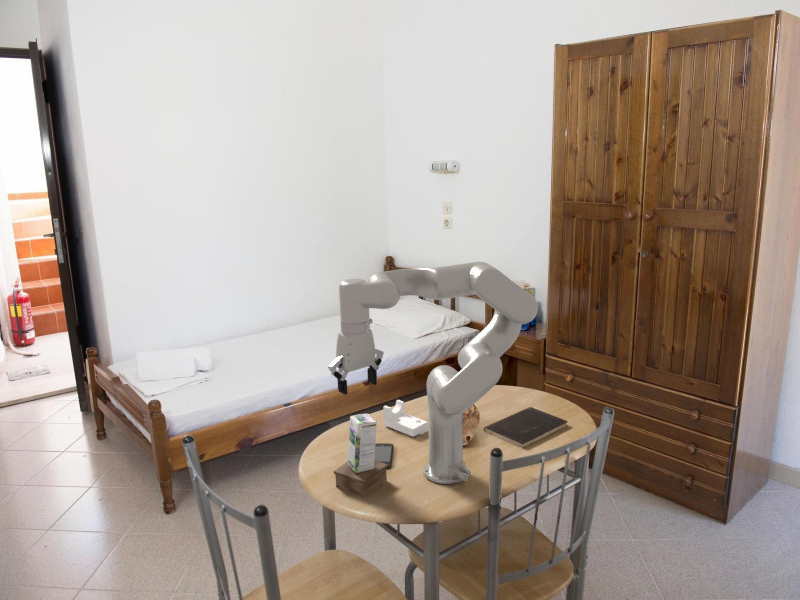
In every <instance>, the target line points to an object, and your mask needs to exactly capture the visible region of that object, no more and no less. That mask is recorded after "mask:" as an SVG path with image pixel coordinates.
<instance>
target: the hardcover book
mask: <svg viewBox="0 0 800 600" xmlns="http://www.w3.org/2000/svg"><path fill="white" fill-rule="evenodd" d="M568 422H569V421H568V420H566V419H562V418H560V417H559V416H555V415H552V414H551V413H547V412H545V411H542V410H540V409H537V408H534V407H532V406H529V407H527V408H524V409H522V410H520V411H518V412H516V413H513V414H511V415H509V416H506V417H504V418H502V419H500V420H497V421H495V422H493V423H491V424H488V425H486V426H484V427H483V432H487V433H488V434H491V435H493V436H495V437H497V438H500V439H501V440H504V441H506V442H508V443H510V444H513V445H515V446H517V447H519V448H521V449H523V448H524V447H527V446H529V445H531V444H532V443H535V442H537V441H539V440H541V439H544V438H545V437H547V436H549V435H551V434H553V433H555V432H557V431H559V430H561V429H564V428H566V426H568V425H567V424H568Z"/></svg>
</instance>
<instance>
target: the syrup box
mask: <svg viewBox="0 0 800 600" xmlns="http://www.w3.org/2000/svg"><path fill="white" fill-rule="evenodd" d="M377 426H378V425H377V421H376V420H375V419H374V417H372V416H371V415H370V414H369V413H359V414H355V415H354V414H353V415H350V416H349V431H348V433H349V434H348V435H349V436H348V450H347V451H348V455H347V456H348V457H347V462H348V464H349V465H350V467H351V468H352V469H353V470H354V472H355V473H359V472H363V471H368V470H372V469H374V460H375V459H376V458H375V457H376V456H375V455H376V440H377V439H376V438H377Z"/></svg>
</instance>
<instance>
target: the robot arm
mask: <svg viewBox="0 0 800 600" xmlns="http://www.w3.org/2000/svg"><path fill="white" fill-rule="evenodd" d="M338 293H339V296H338V297H339V315H340V332H338V334H337V338H336V339H337V341H336V350H335V351H336V352H335V359H334V360H333V361H332V362H331V363H330V364H329V365H328V366H327V368H328V370H329V371H330V375H332V377H334V378H336V379H337V390H338V392H339V393H340V394H343V395H348V381H347V379H346V378H347V376H348V375H349V373H351V372H355V371H358V370H362V369H365V368H367V372H366V373H367V383H369V384H371V385H374V386H376V385H377V384H378V382H377V381H378V375H377V374H378V372H377V371H378V370H379V368H380V367H379V366H380V365H381V363H382V359H383V357H384V354H385V352H384V351H382V350H380V349H377V348H376V345H375V340H374V335H373V331H372V329H371V324H373V319H372V318H371V317H370V309H378V310H388V309H392V308H393V307H395V306H397V304H398V303H399V301H400V299H401V297H404V296H405V297H406V296H417V297H422V298H423V297H424V298H426V299H430V300H434V301H435V300H437V301H438V300H439V301H441V300H442V301H443V300H446V299H453V298H454V299H455V298H459V297H460V298H461V297H467V296H473V295H474V296H475V295H476V296H477V297H478V298H479V299H480V300H482V301H483V302H485V303H486V304H487V305H488V306H489V307H491V308H492V309H493V310H494V312H493V316H492V318H491V320H490V321H489V323H488V324H487V325H486V326H485V327H484V328H483V329H482V330H481V331H480V332H479V333H478V334H477V335H475V336H474V337H473V338H472V339H471V340H470V341H469V342H467V344H465V345H464V346H463V347H462V348H461V349H460V351H459V352H458V355H457V362H458V365H459V367H460V368H461V369H460V371H457V370H456V369H455V368H454V367H452V366H450V365H446V364H445V365H438V366H436V367H434V368H433V369H432V370H431V371H430V373H429V374H428V376H427V379H426V394H427V395H426V396H427V405H428V406H427V407H428V462H427V463H425V464H424V466H423V475H424V476H425V477H426V479H428V480H430V481H431V482H433V483H437V484H441V485H442V484H444V485H452V484H456V483H460V482H462V481H464V482H467V481H468V480H469V478H470V476H471V475H472V470H471V469H468V466H467V465H466V461H465V460H463V459H464V458H463V457H464V456H463V455H464V454H463V451H464V449H463V448H464V447H463V446H464V445H463V444H464V443H463V442H464V439H463V436H464V432H463V431H464V413H465V412H466V411H467V410H468V409H470V408H471V407H473V405H475V404H476V403H477V402H478V401H479V400H480V399H482V398H483V397H484V396H485V395H486V394H487V393H488V392H489V391H490V390H491V389H492V388H493V387H495V385H497V383H498V382H499V381H500V378H501V377H502V373H503V363H502V360H501V357H502V356H503V355H504V353H506V352H507V351H508V350H509V349H510V348H511V347H512V346H513V344H514V343H515V342H516V340H517V339H518V337H519V335H520V333H521V329H522V325H525V324H529V323H530V322H532V321H533V320H534V319H535V318H536V317H537V314H538V310H539V305H538V301H537V299H536V298H535V297H534V296H533V295H532V294H531V293H530V292H528V291H527V290H526V289H524V288H522V287H521V286H520V285H519V284H517V283H516V282H514V281H513V280H511V279H510V278H509V277H508V276H507V275H505V274H504V273H502V271H500V270H499V269H498V268H496V267H494V266H493V265H491V264H490V263H487V262H485V261H473V262H466V263H461V264H458V263H457V264H453V265H446V266H439V267H420V268H418V267H417V268H401V269H394V270H387V271H381V272H377V273H375V274H373V275H371V276H370V277H369V278H368V279H367V280H364V279H361V278H349V279H344V280H342V281H340V283H339V286H338ZM337 368H338V370H337Z"/></svg>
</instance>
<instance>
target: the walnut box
mask: <svg viewBox="0 0 800 600" xmlns="http://www.w3.org/2000/svg"><path fill="white" fill-rule="evenodd" d="M388 467H389V466H388V464H387V463H384V462H381V461H378V460H375V459H374V469H372V470H368V471H363V472H359V473H355V472H354V470H353V469H352V468H351V467H350V465H349V464H348V461H346V462H345V463H343V464H342V465H340V466H339V467H337V468H336V469H335V470H333V474H334V475H335V487H336V488H339V489H341V490H345V491H347V492H349V493H352V494H354V495H358V496H360V497H363V498H367V496H369V495H370V494H372V493H373V492H374V491H375V490H377V489H378V488H379V487H381V486H382V485H383V484H384V483H385V482H387V480H388V479H387V469H388Z"/></svg>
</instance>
